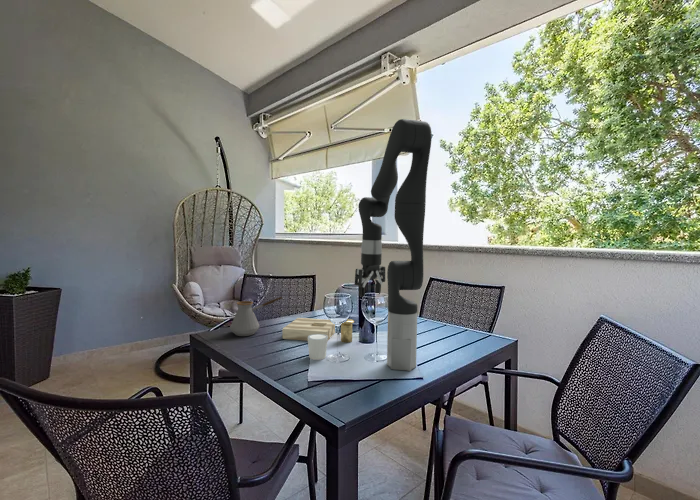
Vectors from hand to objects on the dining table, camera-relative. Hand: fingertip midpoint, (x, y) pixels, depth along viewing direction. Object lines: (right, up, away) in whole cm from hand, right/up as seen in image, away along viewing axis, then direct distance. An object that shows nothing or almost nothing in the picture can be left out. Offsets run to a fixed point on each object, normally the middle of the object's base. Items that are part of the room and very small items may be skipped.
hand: (369, 295), depth 131 cm
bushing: (-9, -18, +4) cm, 21 cm away
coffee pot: (-46, -18, +14) cm, 51 cm away
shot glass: (-18, -19, -13) cm, 30 cm away
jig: (-23, -18, +13) cm, 32 cm away
